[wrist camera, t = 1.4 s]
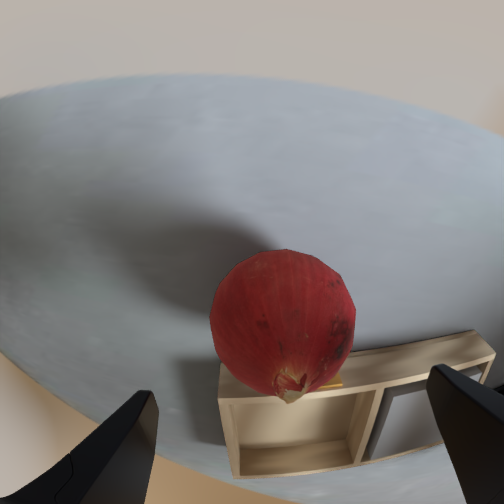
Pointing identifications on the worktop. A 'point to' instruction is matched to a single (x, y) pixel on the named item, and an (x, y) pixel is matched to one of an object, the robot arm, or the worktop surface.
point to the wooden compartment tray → (345, 411)
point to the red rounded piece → (283, 323)
